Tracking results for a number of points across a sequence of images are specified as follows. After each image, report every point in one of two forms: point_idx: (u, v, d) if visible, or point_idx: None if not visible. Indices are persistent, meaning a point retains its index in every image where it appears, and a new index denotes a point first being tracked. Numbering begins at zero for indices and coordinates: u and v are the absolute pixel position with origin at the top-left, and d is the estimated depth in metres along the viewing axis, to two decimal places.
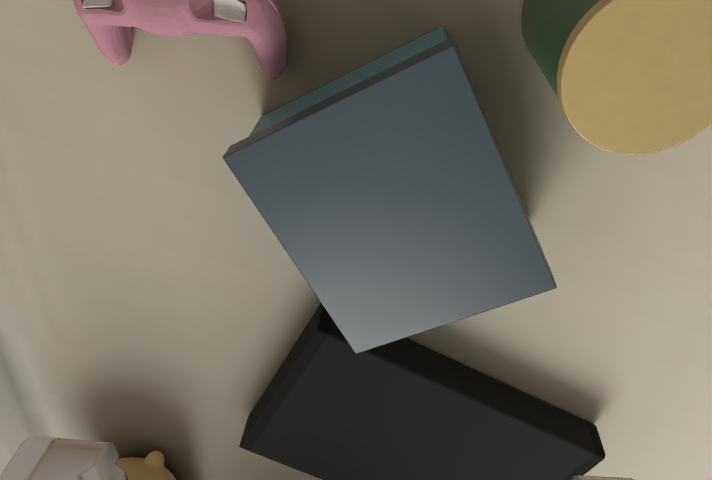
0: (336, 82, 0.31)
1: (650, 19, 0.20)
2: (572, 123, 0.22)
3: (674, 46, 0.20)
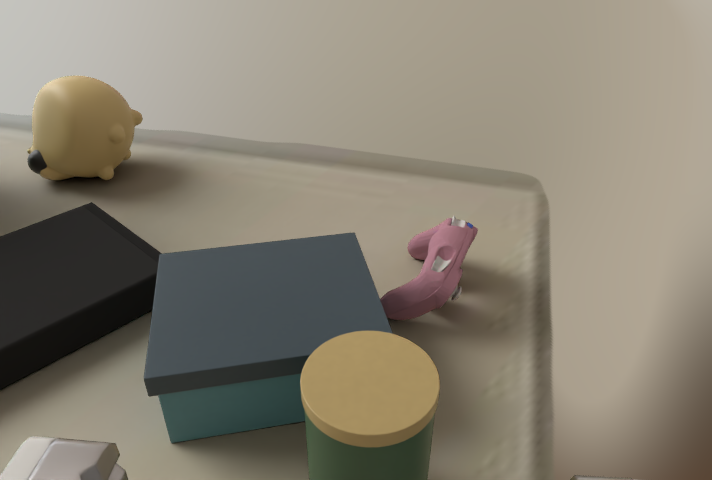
0: None
1: (412, 377, 0.26)
2: (344, 334, 0.28)
3: (388, 390, 0.25)
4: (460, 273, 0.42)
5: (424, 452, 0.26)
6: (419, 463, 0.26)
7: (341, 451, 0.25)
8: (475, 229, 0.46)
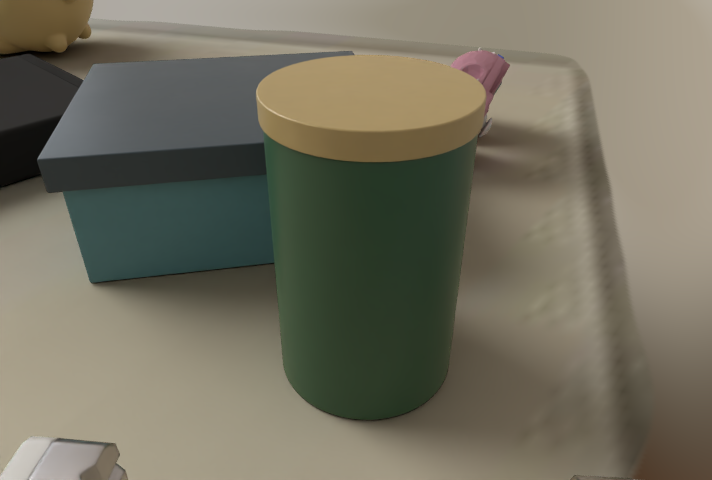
0: None
1: (441, 86, 0.16)
2: None
3: (402, 96, 0.15)
4: (491, 95, 0.32)
5: (459, 212, 0.16)
6: (451, 232, 0.16)
7: (321, 182, 0.14)
8: (507, 63, 0.36)
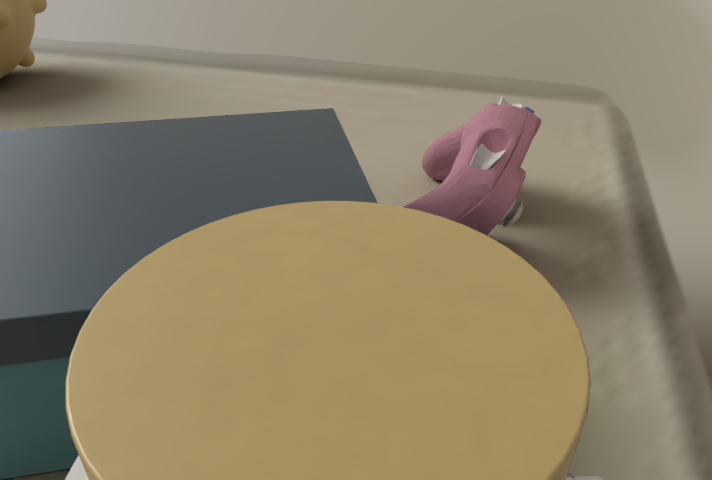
0: None
1: (483, 320, 0.07)
2: (267, 207, 0.10)
3: (398, 363, 0.07)
4: (523, 174, 0.23)
5: None
6: None
7: None
8: (537, 118, 0.28)
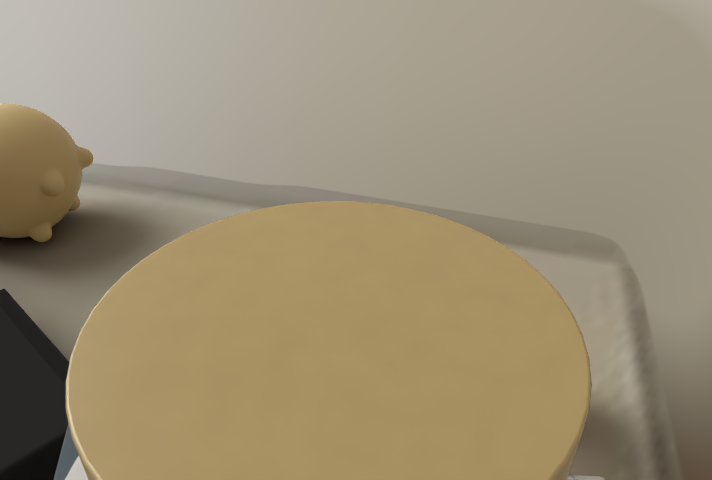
0: None
1: (484, 321, 0.07)
2: (267, 208, 0.10)
3: (399, 364, 0.07)
4: None
5: None
6: None
7: None
8: None
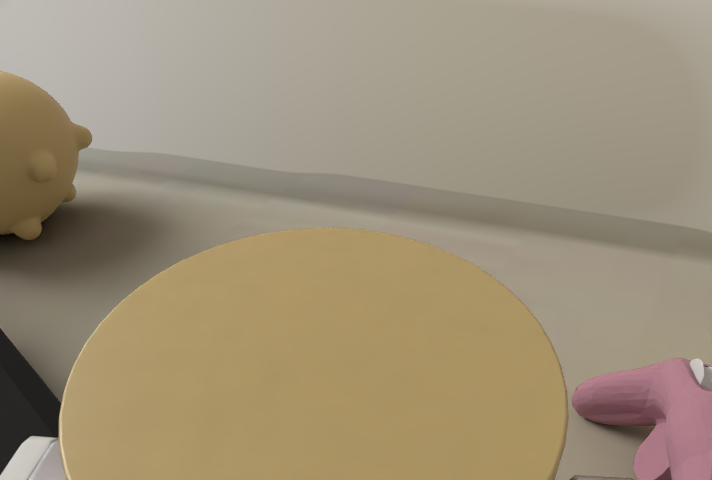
0: None
1: (467, 353, 0.08)
2: (257, 235, 0.10)
3: (382, 398, 0.07)
4: None
5: None
6: None
7: None
8: None
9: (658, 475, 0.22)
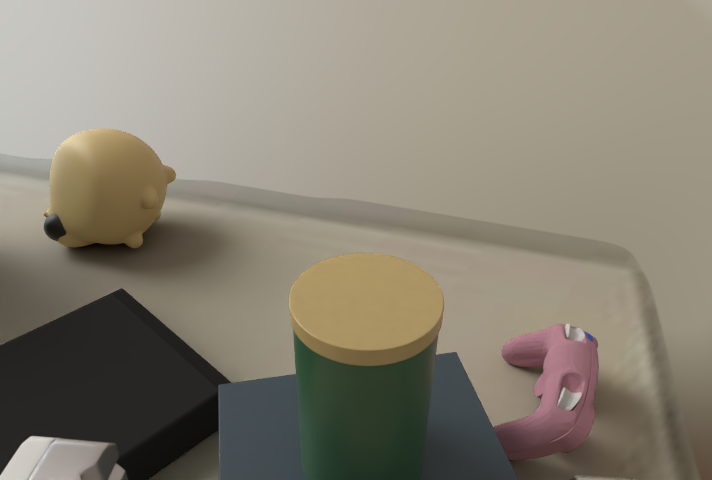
0: None
1: (414, 296, 0.24)
2: (338, 256, 0.26)
3: (387, 308, 0.23)
4: (593, 411, 0.33)
5: (426, 380, 0.24)
6: (420, 393, 0.24)
7: (333, 372, 0.22)
8: (595, 341, 0.38)
9: None
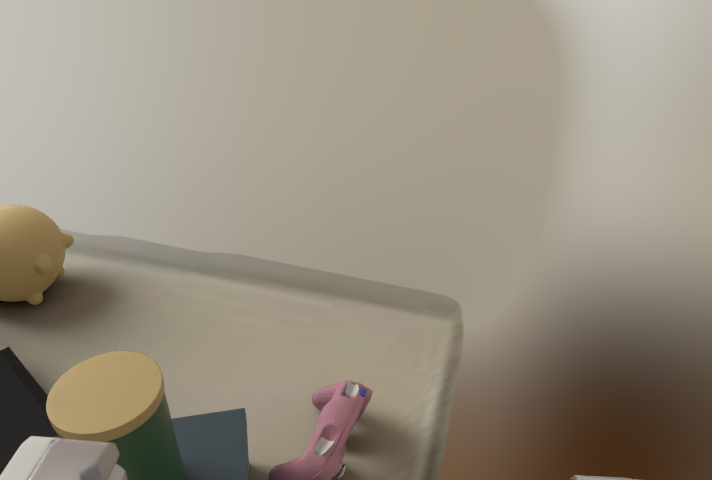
0: None
1: (139, 389, 0.33)
2: (102, 354, 0.36)
3: (115, 399, 0.33)
4: (342, 456, 0.43)
5: (149, 448, 0.33)
6: (145, 457, 0.33)
7: None
8: (369, 395, 0.48)
9: None
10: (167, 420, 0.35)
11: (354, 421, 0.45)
